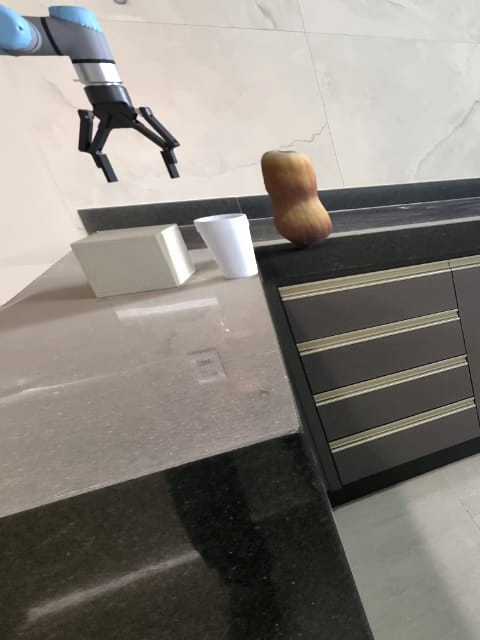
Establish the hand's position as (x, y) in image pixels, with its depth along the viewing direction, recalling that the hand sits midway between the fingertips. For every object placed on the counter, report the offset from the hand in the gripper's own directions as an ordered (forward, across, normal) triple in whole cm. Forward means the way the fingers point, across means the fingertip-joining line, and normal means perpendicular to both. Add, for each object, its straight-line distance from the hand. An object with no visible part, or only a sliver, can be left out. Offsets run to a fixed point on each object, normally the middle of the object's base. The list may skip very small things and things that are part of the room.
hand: (144, 180), depth 133 cm
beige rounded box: (+20, -8, +28) cm, 35 cm away
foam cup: (+20, -26, +28) cm, 43 cm away
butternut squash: (+20, -33, +2) cm, 39 cm away
